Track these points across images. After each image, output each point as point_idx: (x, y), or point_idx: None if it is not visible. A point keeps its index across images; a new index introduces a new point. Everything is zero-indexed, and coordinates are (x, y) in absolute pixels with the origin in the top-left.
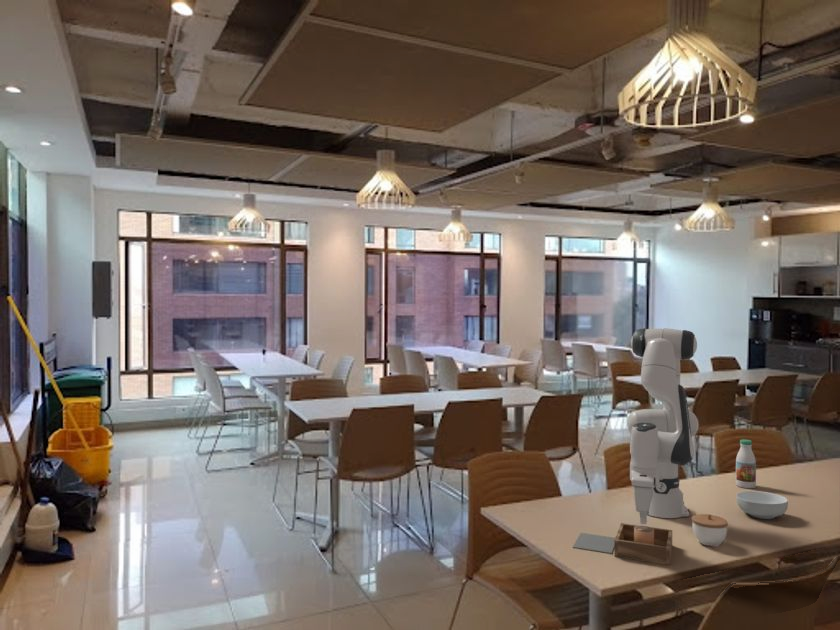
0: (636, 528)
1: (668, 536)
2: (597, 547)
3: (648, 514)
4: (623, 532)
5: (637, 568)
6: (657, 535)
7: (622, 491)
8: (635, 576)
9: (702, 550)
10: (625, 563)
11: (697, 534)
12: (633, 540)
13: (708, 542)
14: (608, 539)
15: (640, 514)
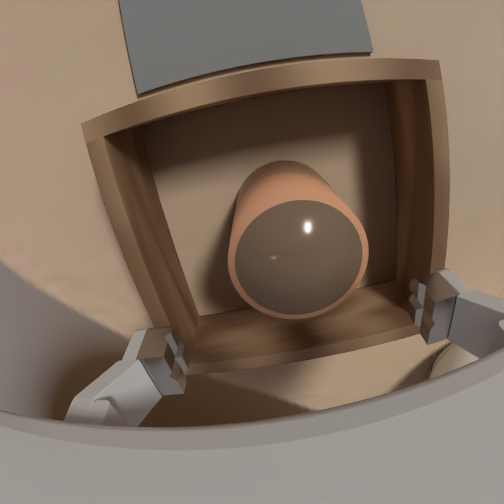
0: (273, 216)
1: (339, 343)
2: (165, 11)
3: (412, 319)
4: (391, 81)
5: (75, 244)
6: (415, 258)
7: None
8: (25, 258)
9: (392, 365)
10: (82, 190)
11: (449, 367)
12: (392, 131)
13: (429, 377)
14: (323, 15)
15: (89, 393)
